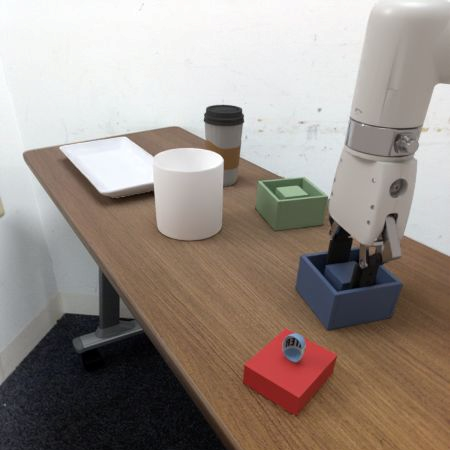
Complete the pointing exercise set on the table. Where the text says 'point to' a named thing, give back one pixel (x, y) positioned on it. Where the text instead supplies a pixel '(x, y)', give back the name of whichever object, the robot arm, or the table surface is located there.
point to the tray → (113, 165)
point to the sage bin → (291, 204)
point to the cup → (188, 193)
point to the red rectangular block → (289, 370)
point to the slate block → (339, 275)
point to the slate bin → (346, 293)
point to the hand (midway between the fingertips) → (348, 275)
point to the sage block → (290, 192)
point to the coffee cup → (225, 137)
